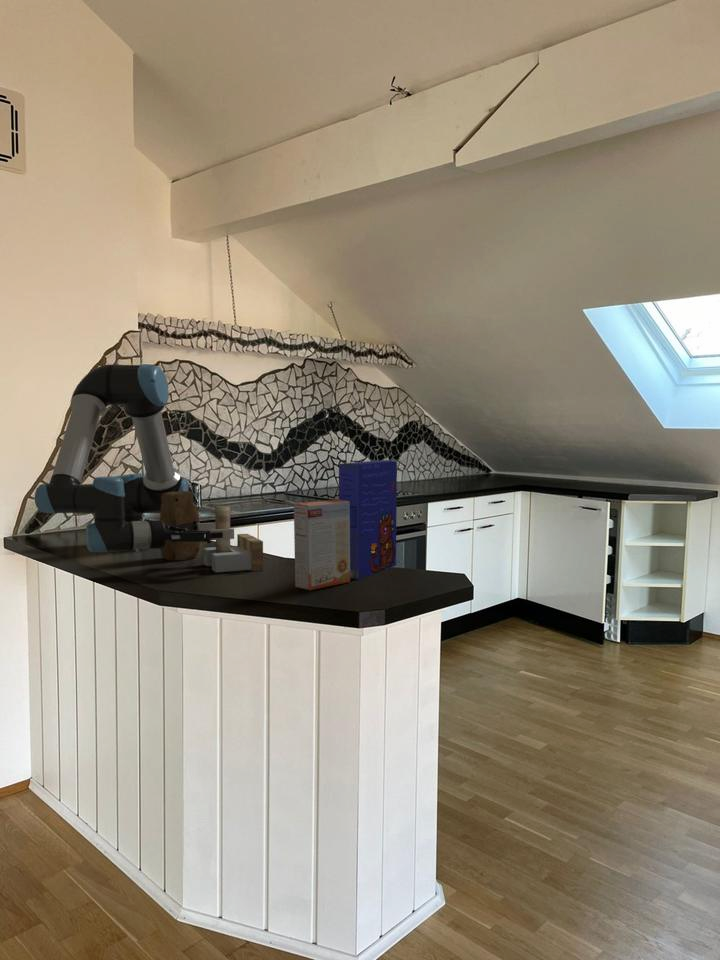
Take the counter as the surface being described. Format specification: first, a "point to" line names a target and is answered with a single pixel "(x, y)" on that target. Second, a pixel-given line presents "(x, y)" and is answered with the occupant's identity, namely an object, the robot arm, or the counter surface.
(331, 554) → the cracker box
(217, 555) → the block
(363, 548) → the cereal box
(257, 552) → the wall
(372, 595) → the counter surface
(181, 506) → the block
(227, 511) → the dowel
